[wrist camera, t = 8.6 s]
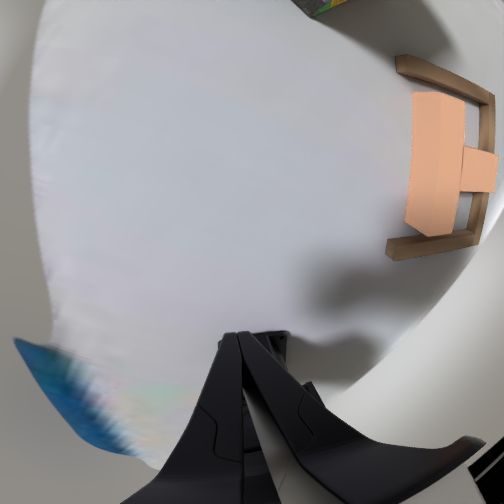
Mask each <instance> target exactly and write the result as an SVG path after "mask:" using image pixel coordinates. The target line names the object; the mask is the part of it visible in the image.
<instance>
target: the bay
mask: <svg viewBox="0 0 504 504" xmlns="http://www.w3.org/2000/svg"><path fill="white" fill-rule="evenodd" d="M395 58H396V70H397V73H401V74H404V75H408V76H411V77H414V78H417V79H420V80H423V81H426V82H429V83H432V84H435V85H438V86H440V87H443V88H446V89H448V90H451V91H453V92H456V93H458V94H460V95H463V96H465V97H467V98H470V99H472V100H474V101H476V102H478V103H479V105H480V129H479V149H480V150H483V151H486V152H489V153H493V154H494V148H495V95H494V94H492V93H490V92H489V91H487V90H485V89H483V88H481V87H480V86H478V85H476V84H474V83H472V82H470V81H468V80H466V79H464V78H462V77H460V76H458V75H456V74H454V73H452V72H450V71H448V70H445V69H443V68H441V67H438V66H436V65H434V64H431V63H429V62H426V61H423V60H421V59H418V58H415V57H413V56H410V55H407V54H406V55H400V56H395ZM488 198H489V192H474V194H473V200H472V206H471V211H470V216H469V221H468V226H467V229H464V230H456V231H452V233H451V234H444V235H437V236H430V237H427V236H426V235H417V236H409V237H401V238H393V239H388V241H387V247H386V253H385V254H386V255H387V256H388V257H390V258H391V259H392V260H393V261H398V260H404V259H409V258H415V257H420V256H425V255H430V254H436V253H441V252H446V251H451V250H456V249H460V248H465V247H470V246H475V245H478V244H479V240H480V236H481V232H482V228H483V224H484V219H485V214H486V209H487V204H488Z"/></svg>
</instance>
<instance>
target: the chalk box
mask: <svg viewBox="0 0 504 504" xmlns="http://www.w3.org/2000/svg"><path fill="white" fill-rule="evenodd" d="M292 1H293V2H294V3H295V4H296V5H297V6H298V7H299V8H300V9H301V10H302V11H303V12H304V13H305V14H306V15H307V16H309V17H313V16H317V15H319V14H320V13H322V12H324V11H326V10H328V9H330V8H332V7H334V6H336V5H339V4H341V3H343V2H345V1H347V0H292Z"/></svg>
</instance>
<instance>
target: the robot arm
mask: <svg viewBox="0 0 504 504" xmlns="http://www.w3.org/2000/svg"><path fill="white" fill-rule="evenodd" d="M280 336H282V337H280ZM286 343H287V336H286V333H285V332H283V331H280V332H274V333H268V334H262V335H255V336H253V335H252V334H251V333H250V332H249V331H241V332H237V333H236V332H230V333H225V334H224V335H223V338H222V340H221V341H219V342H218V351H217V353H216V356H215V358H214V361H213V363H212V366H211V369H210V371H209V374H208V376H207V379H206V381H205V384H204V386H203V389H202V391H201V394H200V396H199V399H198V402H197V405H196V406H195V409H194V411H193V414H192V416H191V418H190V421H189V423H188V425H187V427H186V429H185V431H184V433H183V434H182V436H181V438H180V440H179V442H178V443H177V445H176V447H175V448H174V450H173V451H172V453H171V455H170V456H169V458H168V460H167V461H166V463H165V464H164V466H163V468H162V469H161V471H160V472H159V473H158V475H157V476H156V477H155V478H154V479H153V480H152V481H151V482H150V483H148V484H147V485H146V486H144V487H143V488H141V489H140V490H139V491H137V492H136V493H134V494H133V495H132V496H130V497H129V498H128V499H126V500H124V501H123V502H121V503H120V504H504V436H503V437H502V438H501V439H500V440H499V441H498V442H497V443H495V444H494V445H493V446H492V447H491V448H490V449H489V450H488V451H486V452H485V453H484V454H483V455H482V456H480V457H479V458H478V459H477V460H476V461H474V462H473V463H472V464H471V465H470V466H469V467H467V465H466V464H465V461H466V460H467V459H469V458H470V457H471V456H473V455H474V454H475V453H476V452H477V451H478V450H480V449H481V448H482V447H483V446H484V445H485V444H486V442H484V441H483V440H481V439H479V438H476V437H471V436H463V437H461V438H460V439H458V440H457V441H455V442H454V443H453V444H451V445H449V446H447V447H443V448H438V449H425V448H415V447H406V446H398V445H391V444H385V443H380V442H377V441H374V440H372V439H369V438H368V437H366V436H365V435H363V434H361V433H360V432H358V431H357V430H356V429H354V428H353V427H351V426H350V425H348V424H347V423H345V422H344V421H343V420H341V419H340V418H338V417H337V416H335V415H334V414H333V413H331V412H330V411H329V410H328V409H326V407H325V405H324V404H323V402H322V400H321V398H320V396H319V394H318V393H317V391H316V389H315V387H314V385H313V384H312V382H311V381H310V382H307V383H305V384H304V385H301V384H300V383H299V382H298V381H297V380H296V379H295V378H294V377H293V376H292V375H291V374H290V373H289V372H288V370H287V367H286V364H285V361H286Z"/></svg>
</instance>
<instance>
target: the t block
mask: <svg viewBox="0 0 504 504" xmlns="http://www.w3.org/2000/svg"><path fill="white" fill-rule="evenodd" d="M412 105H413V129H412V155H411V169H410V181H409V190H408V199H407V207H406V214H405V221H404V222H406V223H407V224H409V225H410V226H412V227H413V228H415V229H417V230H418V231H420V232H421V233H423V234H424V235H426V236H427V237H430V236H437V235H444V234H451V233H452V230H453V226H454V221H455V216H456V210H457V205H458V199H459V192H460V191H468V192H491V193H494V190H495V183H496V176H497V167H498V156H499V155H496V154H493V153H489V152H486V151H483V150H480V149H476V148H472V147H468V146H464V142H465V102H464V101H462V100H459V99H457V98H454V97H452V96H449V95H446V94H444V93H441V92H412Z"/></svg>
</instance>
